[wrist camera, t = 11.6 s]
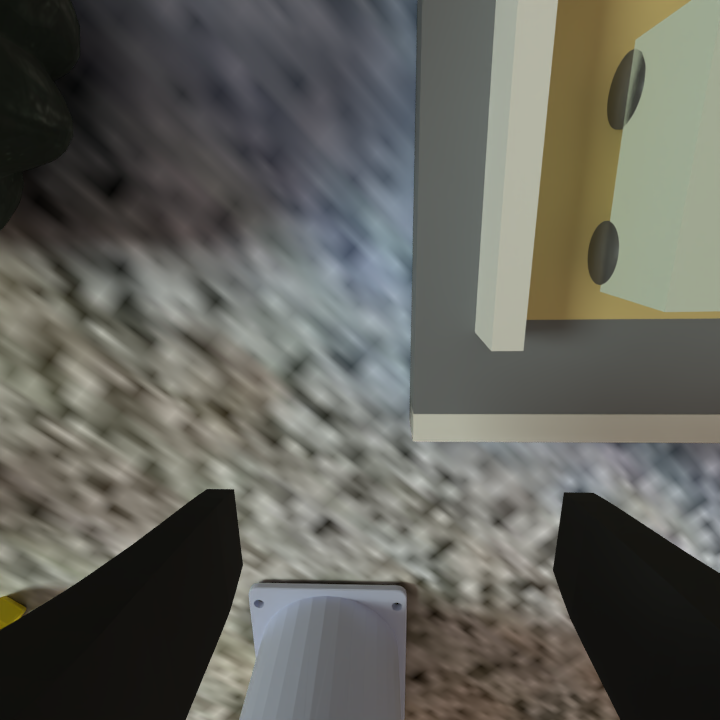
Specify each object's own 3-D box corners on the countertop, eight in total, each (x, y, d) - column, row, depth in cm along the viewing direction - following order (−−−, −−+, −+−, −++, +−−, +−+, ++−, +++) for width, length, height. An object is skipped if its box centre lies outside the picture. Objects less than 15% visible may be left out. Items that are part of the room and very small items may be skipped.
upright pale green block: (713, 284, 15) (847, 309, 11) (583, 286, 15) (664, 311, 11) (763, 49, 13) (956, -37, 9) (613, 55, 13) (728, -26, 9)
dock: (782, 420, 19) (900, 478, 15) (409, 419, 20) (418, 474, 15) (939, -112, 14) (1198, -265, 9) (419, -87, 14) (436, -219, 10)
